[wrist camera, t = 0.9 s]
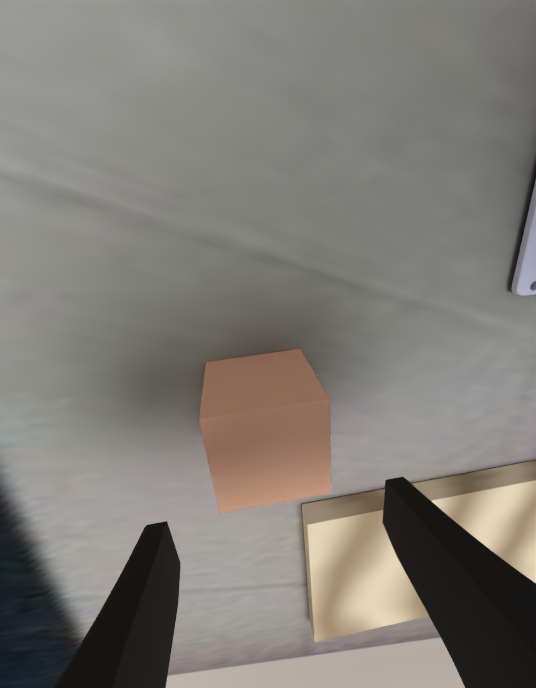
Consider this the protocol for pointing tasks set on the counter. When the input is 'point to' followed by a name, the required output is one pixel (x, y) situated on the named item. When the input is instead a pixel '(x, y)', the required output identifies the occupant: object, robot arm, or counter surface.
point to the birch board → (380, 558)
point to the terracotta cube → (265, 430)
